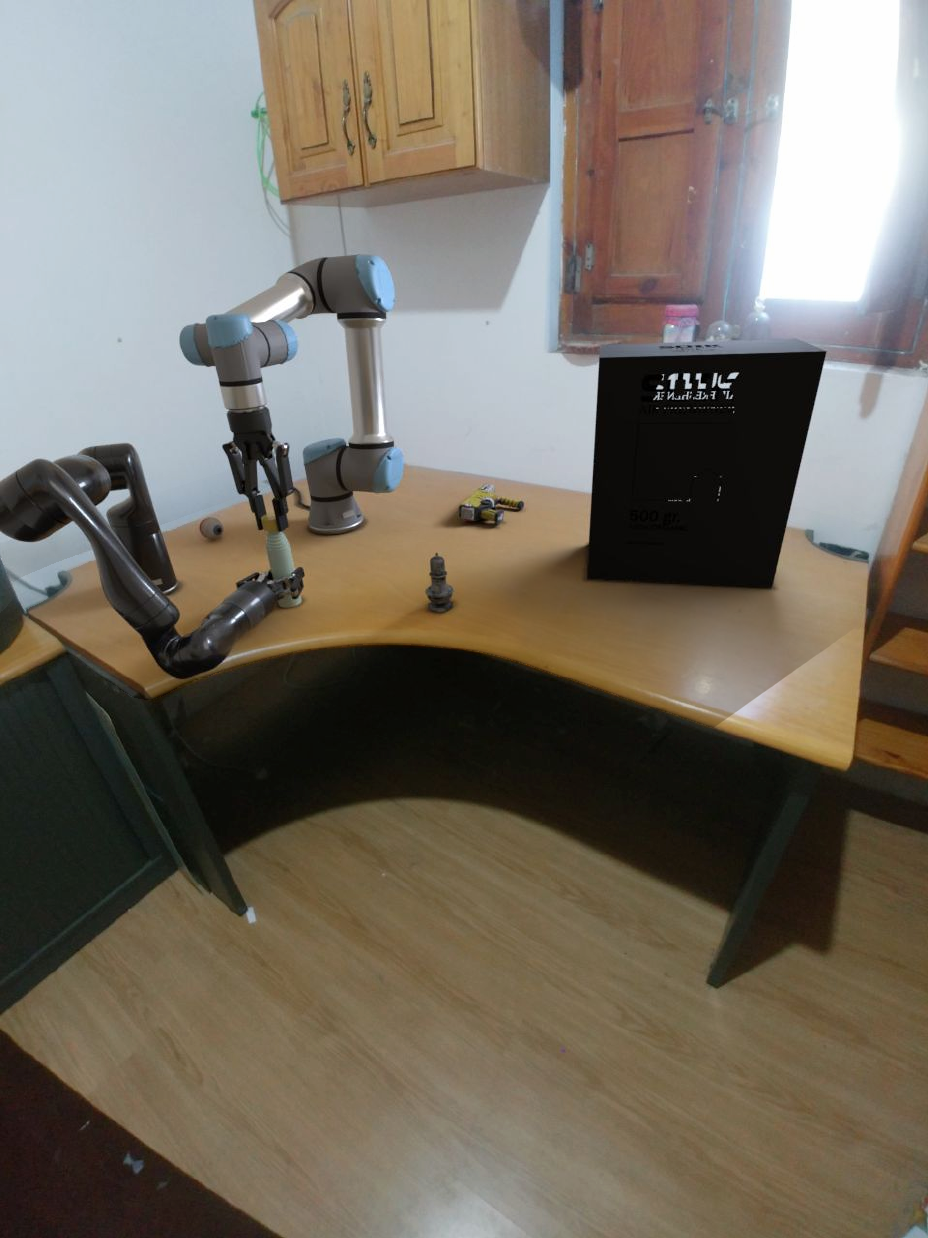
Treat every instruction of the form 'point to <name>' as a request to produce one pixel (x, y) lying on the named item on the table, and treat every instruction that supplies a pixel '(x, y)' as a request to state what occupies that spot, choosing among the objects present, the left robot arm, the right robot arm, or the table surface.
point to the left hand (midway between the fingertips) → (290, 570)
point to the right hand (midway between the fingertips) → (273, 528)
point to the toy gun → (486, 505)
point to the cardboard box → (698, 459)
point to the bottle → (281, 562)
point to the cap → (269, 522)
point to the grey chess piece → (439, 586)
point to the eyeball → (211, 528)
